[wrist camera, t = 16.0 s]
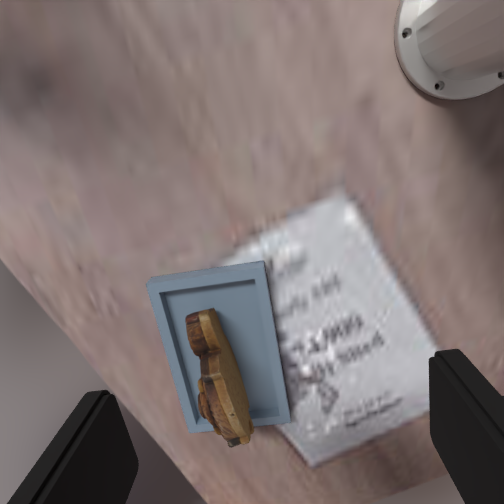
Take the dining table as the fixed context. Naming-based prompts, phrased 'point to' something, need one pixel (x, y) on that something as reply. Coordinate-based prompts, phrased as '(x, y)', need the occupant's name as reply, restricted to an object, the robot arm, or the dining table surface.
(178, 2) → the dining table surface
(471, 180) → the dining table surface
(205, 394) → the wooden carving
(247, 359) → the tray
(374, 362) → the dining table surface
